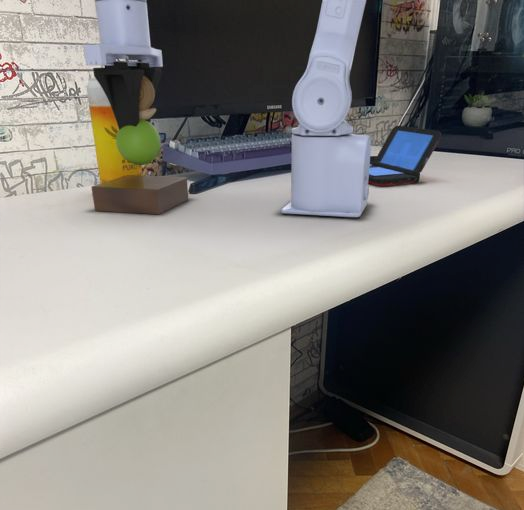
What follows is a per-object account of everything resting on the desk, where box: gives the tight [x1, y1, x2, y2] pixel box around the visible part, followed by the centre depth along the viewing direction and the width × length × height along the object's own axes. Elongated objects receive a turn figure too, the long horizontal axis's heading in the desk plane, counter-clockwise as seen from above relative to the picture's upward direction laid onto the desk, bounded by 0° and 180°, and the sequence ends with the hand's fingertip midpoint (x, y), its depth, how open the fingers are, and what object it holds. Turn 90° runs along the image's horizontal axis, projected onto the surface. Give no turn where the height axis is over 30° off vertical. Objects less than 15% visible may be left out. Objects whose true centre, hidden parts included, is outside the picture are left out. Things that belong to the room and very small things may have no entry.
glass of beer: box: [86, 77, 144, 184], centre depth 75 cm, size 6×6×15 cm
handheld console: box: [368, 125, 442, 187], centre depth 85 cm, size 12×11×7 cm
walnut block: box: [91, 175, 189, 215], centre depth 70 cm, size 9×9×3 cm
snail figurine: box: [100, 65, 162, 166], centre depth 65 cm, size 5×6×12 cm
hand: (135, 132), depth 66 cm, fingers closed on snail figurine, 2 cm apart
